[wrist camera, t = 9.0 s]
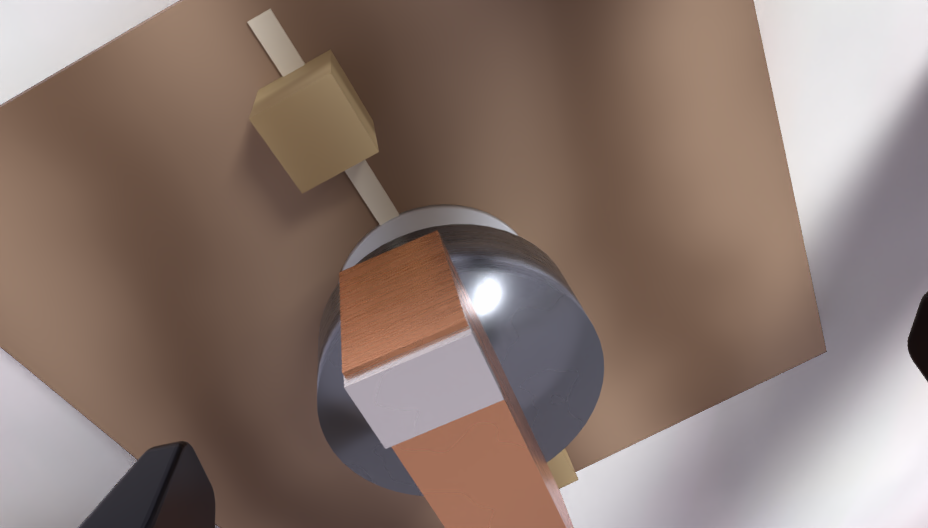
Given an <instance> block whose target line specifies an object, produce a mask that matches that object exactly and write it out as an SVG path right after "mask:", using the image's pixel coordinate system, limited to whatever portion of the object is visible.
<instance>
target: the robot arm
mask: <svg viewBox="0 0 928 528" xmlns="http://www.w3.org/2000/svg"><path fill="white" fill-rule="evenodd" d="M908 351H909V354H910V356H911V358H912V360H913V362H914V363H915V365H916V366H917V367H918V369H919V370H920V372H921V373H922V374H923V376H924V377H925V379H926V380H927V382H928V292H927V293H926V294H925V295H924V296H923V297H922V299H921V302H920V305H919V308H918V311H917V314H916V317H915V319H914V322H913V325H912V328H911V331H910V334H909V337H908ZM215 509H216V504H215V495H214V491H213V487H212V485H211V483H210V481H209V479H208V477H207V475H206V473H205V471H204V469H203V467H202V465H201V463H200V461H199V459H198V457H197V455H196V453H195V450H194V449H193V447H192V446H191V445H190V444H189V443H188V442H186V441H178V442H173V443H168V444H163V445H159V446H154V447H152V448H150V449H148V450H147V451H146V452H145V453H144V454H143V455H142V456H141V457H140V458H139V459H138V460H137V461H136V463H135V464H134V465H133V466H132V467H131V468H130V469H129V470H128V472H127V473H126V474H125V475H124V476H123V477H122V478H121V480H120V481H119V482H118V483H117V484H116V485H115V486H114V488H113V489H112V490H111V491H110V492H109V493H108V494H107V496H106V497H105V498H104V499H103V500H102V501H101V502H100V504H99V505H98V506H97V507H96V508H95V509H94V510H93V512H92V513H91V514H90V515H89V516H88V517H87V518H86V520H85V521H84V522H83V523H82V524H81V525H80V526H79V527H78V528H215Z"/></svg>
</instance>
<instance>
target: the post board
mask: <svg viewBox="0 0 928 528" xmlns="http://www.w3.org/2000/svg"><path fill="white" fill-rule="evenodd" d="M450 224H473V225H481V226H489V227H493V228H497V229H501V230H505V231H507V232H510V233H512V234H515V235H517V236H520V237H522V238H524V239H525V240H527V241H529V242H531V243H532V244H534V245H535V246H537V247H538V248H539V249H541V250H542V251H543V252H544V253H546V254H547V255H548V256H549V258H550V259H551V260H552V261H553V262H554V263H555V264H556V265H557V267H558V268H559V270H560V271H561V273H562V274H563V276H564V277H565V279H566V281H567V282H568V284H569V286H570V287H571V289H572V291H573V292H574V294H575V296H576V297H577V299H578V301H579V303H580V304H581V306H582V308H583V309H584V311H585V313H586V314H587V316H588V318H589V319H590V321H591V323H592V324H593V326H594V328H595V330H596V333H597V335H598V337H599V339H600V343H601V347H602V351H603V356H604V377H603V384H602V388H601V392H600V396H599V399H598V401H597V404H596V406H595V408H594V411H593V412H592V414H591V416H590V418H589V419H588V421H587V423H586V424H585V426H584V427H583V428H582V430H581V431H580V432H579V434H578V435H577V436H576V437H575V438H574V439H573V440H572V441H571V442H570V444H569V445H568V446H567V447H566V448H564V449H563V450H562V451H561V452H560V453H559V454H558V455H556V456H555V457H554V458H553V459H551V460H550V461H548V462H547V464H548V467H549V469H550V471H551V473H552V475H553V477H554V479H555V482H556V484H557V486H558V488H559V489H560V488H562V487H564V486H566V485H568V484H570V483H572V482H575V481H577V480H578V477H577V475H576V473H575V472H577V471H579V470H581V469H583V468H585V467H587V466H589V465H591V464H593V463H595V462H598V461H600V460H602V459H604V458H606V457H608V456H610V455H612V454H614V453H616V452H618V451H620V450H623V449H625V448H627V447H629V446H631V445H633V444H635V443H637V442H639V441H641V440H643V439H646V438H648V437H650V436H652V435H654V434H656V433H658V432H660V431H662V430H664V429H666V428H668V427H671V426H673V425H675V424H677V423H679V422H681V421H683V420H685V419H687V418H689V417H691V416H694V415H696V414H698V413H700V412H702V411H704V410H706V409H708V408H710V407H712V406H714V405H716V404H719V403H721V402H723V401H725V400H727V399H729V398H731V397H733V396H735V395H737V394H739V393H742V392H744V391H746V390H748V389H750V388H752V387H754V386H756V385H758V384H760V383H762V382H764V381H767V380H769V379H771V378H773V377H775V376H777V375H779V374H781V373H783V372H785V371H787V370H790V369H792V368H794V367H796V366H798V365H800V364H802V363H804V362H806V361H808V360H810V359H812V358H815V357H817V356H819V355H821V354H823V353H825V352H827V351H826V346H825V341H824V337H823V332H822V327H821V322H820V317H819V313H818V308H817V303H816V298H815V293H814V289H813V284H812V279H811V274H810V270H809V265H808V260H807V255H806V250H805V246H804V241H803V236H802V231H801V226H800V222H799V217H798V212H797V207H796V202H795V198H794V193H793V188H792V183H791V178H790V174H789V169H788V164H787V159H786V154H785V150H784V145H783V140H782V135H781V130H780V126H779V121H778V116H777V111H776V106H775V102H774V97H773V92H772V87H771V82H770V78H769V73H768V68H767V63H766V59H765V54H764V49H763V44H762V39H761V35H760V30H759V25H758V20H757V15H756V11H755V6H754V1H753V0H180V1H178V2H176V3H175V4H173V5H171V6H169V7H168V8H166V9H164V10H163V11H161V12H159V13H157V14H156V15H154V16H152V17H151V18H149V19H147V20H145V21H144V22H142V23H140V24H139V25H137V26H135V27H133V28H132V29H130V30H128V31H127V32H125V33H123V34H121V35H120V36H118V37H116V38H115V39H113V40H111V41H110V42H108V43H106V44H104V45H103V46H101V47H99V48H98V49H96V50H94V51H92V52H91V53H89V54H87V55H86V56H84V57H82V58H80V59H79V60H77V61H75V62H74V63H72V64H70V65H68V66H67V67H65V68H63V69H62V70H60V71H58V72H56V73H55V74H53V75H51V76H50V77H48V78H46V79H44V80H43V81H41V82H39V83H38V84H36V85H34V86H33V87H31V88H29V89H27V90H26V91H24V92H22V93H21V94H19V95H17V96H15V97H14V98H12V99H10V100H9V101H7V102H5V103H3V104H2V105H0V347H1V348H2V349H4V350H5V351H6V352H7V353H8V354H10V355H11V356H12V357H13V358H15V359H16V360H17V361H18V362H19V363H21V364H22V365H23V366H24V367H25V368H27V369H28V370H29V371H30V372H32V373H33V374H34V375H35V376H36V377H38V378H39V379H40V380H41V381H42V382H44V383H45V384H46V385H47V386H49V387H50V388H51V389H52V390H53V391H55V392H56V393H57V394H58V395H59V396H61V397H62V398H63V399H64V400H66V401H67V402H68V403H69V404H70V405H72V406H73V407H74V408H75V409H76V410H78V411H79V412H80V413H81V414H83V415H84V416H85V417H86V418H87V419H89V420H90V421H91V422H92V423H93V424H95V425H96V426H97V427H98V428H100V429H101V430H102V431H103V432H104V433H106V434H107V435H108V436H109V437H111V438H112V439H113V440H114V441H115V442H117V443H118V444H119V445H120V446H121V447H123V448H124V449H125V450H126V451H128V452H129V453H130V454H131V455H132V456H134V457H135V458H136V459H137V460H138V459H139V458H140V457H141V456H142V455H143V454H144V453H145V452H146V451H147V450H148V449H150V448H152V447H154V446H159V445H163V444H168V443H173V442H178V441H186V442H188V443H189V444H190V445H191V446H192V447H193V449H194V450H195V453H196V455H197V457H198V459H199V461H200V463H201V465H202V467H203V469H204V471H205V473H206V475H207V477H208V479H209V481H210V483H211V485H212V487H213V491H214V495H215V504H216V509H215V524H216V525H217V526H219V527H220V528H445V527H444V525H443V524H442V522H441V521H440V519H439V518H438V516H437V515H436V513H435V512H434V510H433V509H432V507H431V506H430V504H429V503H428V501H427V500H426V498H425V497H424V496H417V495H410V494H405V493H400V492H396V491H393V490H389V489H386V488H383V487H381V486H378V485H376V484H374V483H372V482H370V481H367V480H366V479H364V478H363V477H361V476H359V475H358V474H356V473H355V472H353V471H352V470H351V469H350V468H349V467H347V466H346V465H345V464H344V463H343V462H342V461H341V460H340V459H339V458H338V457H337V455H336V454H335V453H334V452H333V450H332V449H331V447H330V446H329V444H328V442H327V441H326V439H325V436H324V434H323V432H322V429H321V427H320V422H319V417H318V413H317V370H318V335H319V328H320V322H321V318H322V315H323V312H324V309H325V306H326V304H327V302H328V300H329V298H330V296H331V294H332V292H333V291H334V289H335V288H336V286H337V285H338V284H339V272H341V271H343V270H346V269H348V268H350V267H353V266H354V265H356V264H357V263H358V262H359V261H360V260H361V259H363V258H364V257H365V256H366V255H368V254H369V253H371V252H372V251H374V250H375V249H377V248H378V247H380V246H381V245H383V244H385V243H387V242H389V241H391V240H393V239H395V238H397V237H400V236H403V235H405V234H408V233H411V232H414V231H417V230H421V229H425V228H429V227H433V226H442V225H450Z"/></svg>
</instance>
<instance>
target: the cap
mask: <svg viewBox="0 0 928 528" xmlns="http://www.w3.org/2000/svg"><path fill="white" fill-rule="evenodd" d="M603 377H604V356H603V351H602V347H601V343H600V339H599V337H598V335H597V333H596V330H595V328H594V326H593V324H592V323H591V321H590V319H589V318H588V316H587V314H586V313H585V311H584V309H583V308H582V306H581V304H580V303H579V301H578V299H577V297H576V296H575V294H574V292H573V291H572V289H571V287H570V286H569V284H568V282H567V281H566V279H565V277H564V276H563V274H562V273H561V271H560V270H559V268H558V267H557V265H556V264H555V263H554V262H553V261H552V260H551V259H550V258H549V256H548V255H547V254H546V253H544V252H543V251H542V250H541V249H539V248H538V247H537V246H535V245H534V244H532V243H531V242H529V241H527V240H525V239H524V238H522V237H520V236H517V235H515V234H512V233H510V232H507V231H505V230H501V229H497V228H493V227H489V226H481V225H473V224H450V225H442V226H433V227H429V228H425V229H421V230H417V231H414V232H411V233H408V234H405V235H403V236H400V237H397V238H395V239H393V240H391V241H389V242H387V243H385V244H383V245H381V246H380V247H378V248H377V249H375V250H374V251H372V252H371V253H369V254H368V255H366V256H365V257H364V258H363V259H361V260H360V261H359V262H358V263H357V264H356V265H354V266H353V267H350V268H348V269H346V270H343V271H341V272H339V284H338V285H337V286H336V288H335V289H334V291H333V292H332V294H331V296H330V298H329V300H328V302H327V304H326V306H325V309H324V312H323V315H322V318H321V322H320V328H319V335H318V370H317V413H318V417H319V422H320V427H321V429H322V432H323V434H324V436H325V439H326V441H327V442H328V444H329V446H330V447H331V449H332V450H333V452H334V453H335V454H336V455H337V457H338V458H339V459H340V460H341V461H342V462H343V463H344V464H345V465H346V466H347V467H349V468H350V469H351V470H352V471H353V472H355V473H356V474H358V475H359V476H361V477H363V478H364V479H366V480H367V481H370V482H372V483H374V484H376V485H378V486H381V487H383V488H386V489H389V490H393V491H396V492H400V493H405V494H410V495H417V496H424V497H425V498H426V500H427V501H428V503H429V504H430V506H431V507H432V509H433V510H434V512H435V513H436V515H437V516H438V518H439V519H440V521H441V522H442V524H443V525H444V527H445V528H574V527H573V525H572V522H571V519H570V517H569V514H568V512H567V509H566V506H565V504H564V501H563V498H562V496H561V493H560V490H559V488H558V486H557V484H556V482H555V479H554V477H553V475H552V473H551V471H550V469H549V467H548V464H547V462H548V461H550V460H551V459H553V458H554V457H555V456H556V455H558V454H559V453H560V452H561V451H562V450H563V449H564V448H566V447H567V446H568V445H569V444H570V442H571V441H572V440H573V439H574V438H575V437H576V436H577V435H578V434H579V432H580V431H581V430H582V428H583V427H584V426H585V424H586V423H587V421H588V419H589V418H590V416H591V414H592V412H593V411H594V408H595V406H596V404H597V401H598V399H599V396H600V392H601V388H602V384H603Z"/></svg>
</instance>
